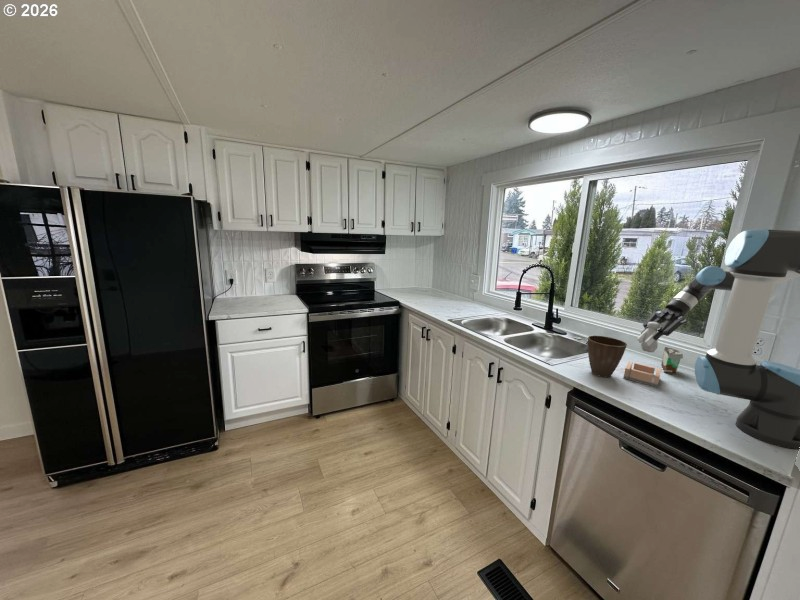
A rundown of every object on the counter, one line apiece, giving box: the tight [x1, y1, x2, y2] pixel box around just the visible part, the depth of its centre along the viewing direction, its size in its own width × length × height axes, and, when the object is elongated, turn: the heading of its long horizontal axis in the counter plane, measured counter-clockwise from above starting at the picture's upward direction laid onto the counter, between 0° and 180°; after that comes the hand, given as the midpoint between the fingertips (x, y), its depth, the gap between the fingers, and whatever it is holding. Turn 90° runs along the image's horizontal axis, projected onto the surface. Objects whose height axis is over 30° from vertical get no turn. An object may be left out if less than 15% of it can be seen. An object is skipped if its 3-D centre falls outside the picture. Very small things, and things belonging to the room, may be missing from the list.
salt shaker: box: [640, 322, 661, 353], centre depth 139 cm, size 6×6×13 cm
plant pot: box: [587, 335, 628, 378], centre depth 144 cm, size 15×15×16 cm
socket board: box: [623, 361, 662, 388], centre depth 143 cm, size 12×12×5 cm
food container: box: [660, 346, 684, 374], centre depth 152 cm, size 12×6×10 cm, turn 148°
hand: (642, 342), depth 139 cm, fingers closed on salt shaker, 3 cm apart
